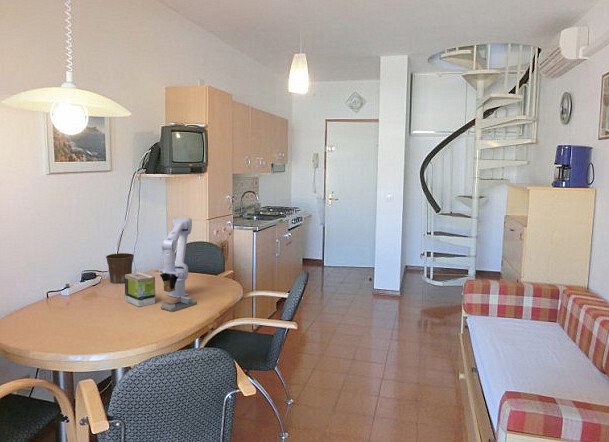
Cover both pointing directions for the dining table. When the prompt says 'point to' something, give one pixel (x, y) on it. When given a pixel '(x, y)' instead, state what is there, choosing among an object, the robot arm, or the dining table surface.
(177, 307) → the vise
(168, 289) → the block
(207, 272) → the dining table surface
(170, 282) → the robot arm
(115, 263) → the plant pot
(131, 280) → the tea box
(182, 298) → the block
